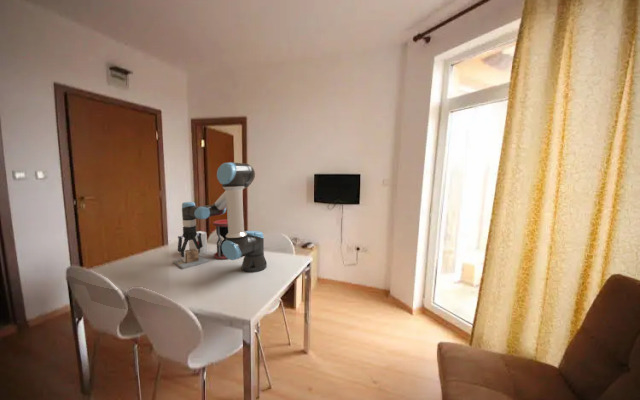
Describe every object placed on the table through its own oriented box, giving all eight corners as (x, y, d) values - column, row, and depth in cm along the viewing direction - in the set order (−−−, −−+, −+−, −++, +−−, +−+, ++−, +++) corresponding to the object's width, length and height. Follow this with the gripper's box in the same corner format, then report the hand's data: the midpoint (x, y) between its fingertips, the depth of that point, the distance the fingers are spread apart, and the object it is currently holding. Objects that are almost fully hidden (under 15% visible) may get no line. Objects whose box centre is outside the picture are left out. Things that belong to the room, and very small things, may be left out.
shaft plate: (198, 256, 171) (198, 249, 170) (208, 261, 160) (208, 254, 160) (173, 262, 159) (172, 254, 158) (182, 269, 148) (182, 260, 148)
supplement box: (195, 255, 173) (194, 234, 171) (189, 253, 177) (188, 233, 176) (207, 252, 180) (206, 232, 178) (200, 249, 185) (200, 230, 183)
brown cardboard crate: (194, 257, 164) (193, 248, 164) (198, 260, 160) (198, 250, 159) (182, 260, 159) (182, 250, 158) (187, 263, 154) (186, 253, 154)
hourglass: (228, 260, 163) (227, 224, 160) (209, 258, 167) (207, 222, 165) (242, 253, 178) (242, 220, 175) (224, 251, 183) (223, 218, 180)
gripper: (202, 222, 167) (203, 254, 169) (169, 227, 151) (171, 262, 154) (207, 224, 162) (208, 257, 165) (174, 229, 147) (176, 265, 149)
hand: (190, 259), depth 159 cm, fingers closed on brown cardboard crate, 7 cm apart
